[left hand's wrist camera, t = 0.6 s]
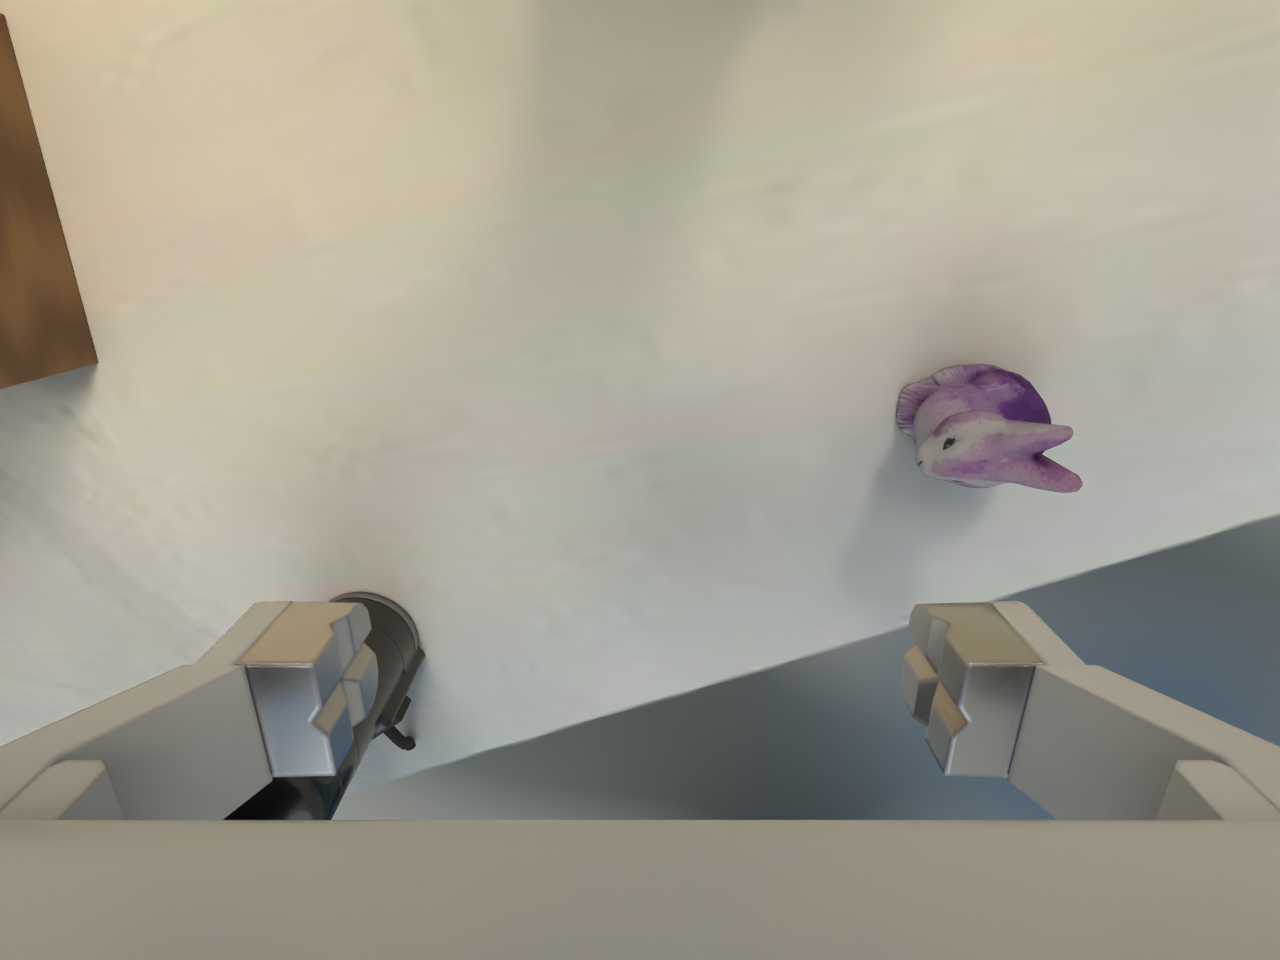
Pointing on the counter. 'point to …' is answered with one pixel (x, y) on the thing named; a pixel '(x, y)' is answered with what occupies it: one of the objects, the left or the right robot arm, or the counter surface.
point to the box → (32, 251)
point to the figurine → (983, 430)
